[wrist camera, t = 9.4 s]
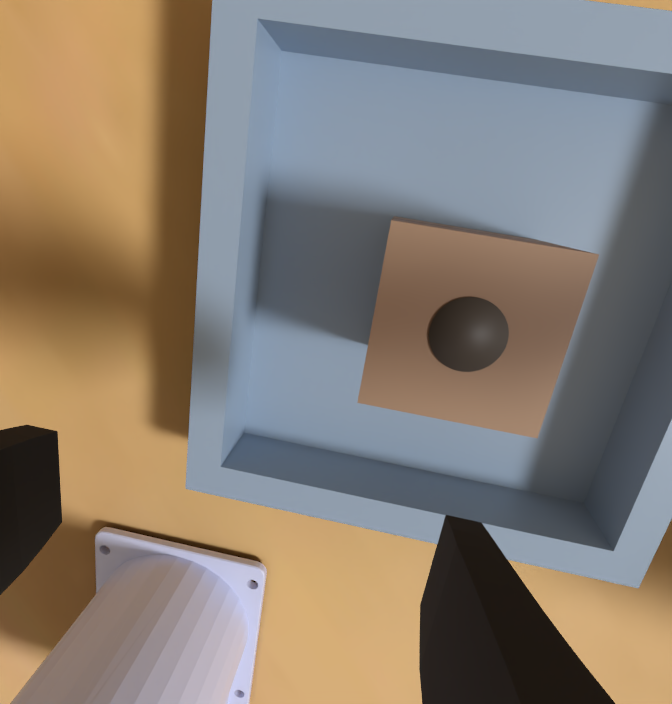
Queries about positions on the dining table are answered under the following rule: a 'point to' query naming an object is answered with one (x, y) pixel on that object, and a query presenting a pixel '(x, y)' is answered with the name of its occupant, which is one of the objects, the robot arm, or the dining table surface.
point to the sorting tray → (444, 208)
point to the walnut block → (472, 325)
